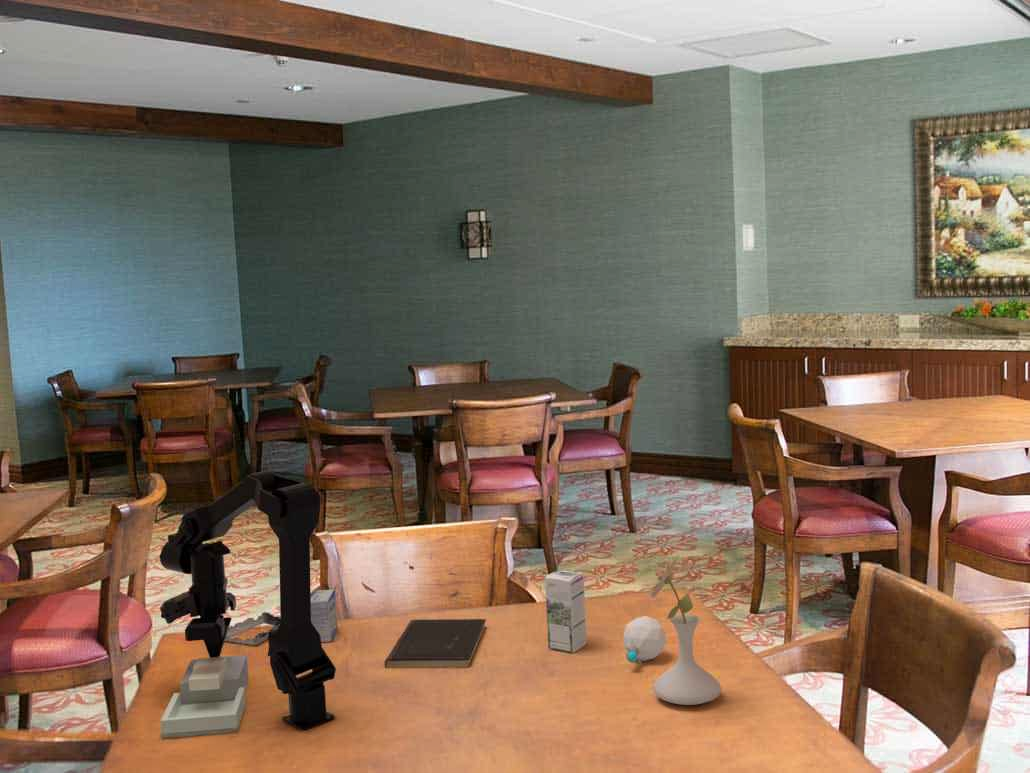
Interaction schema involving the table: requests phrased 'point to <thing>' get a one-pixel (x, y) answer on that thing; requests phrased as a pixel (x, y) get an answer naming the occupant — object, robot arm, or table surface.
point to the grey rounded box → (232, 682)
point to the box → (202, 717)
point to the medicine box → (324, 614)
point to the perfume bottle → (643, 639)
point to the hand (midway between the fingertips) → (215, 662)
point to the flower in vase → (683, 656)
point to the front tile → (206, 678)
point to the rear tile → (212, 662)
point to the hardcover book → (436, 643)
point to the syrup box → (565, 611)
